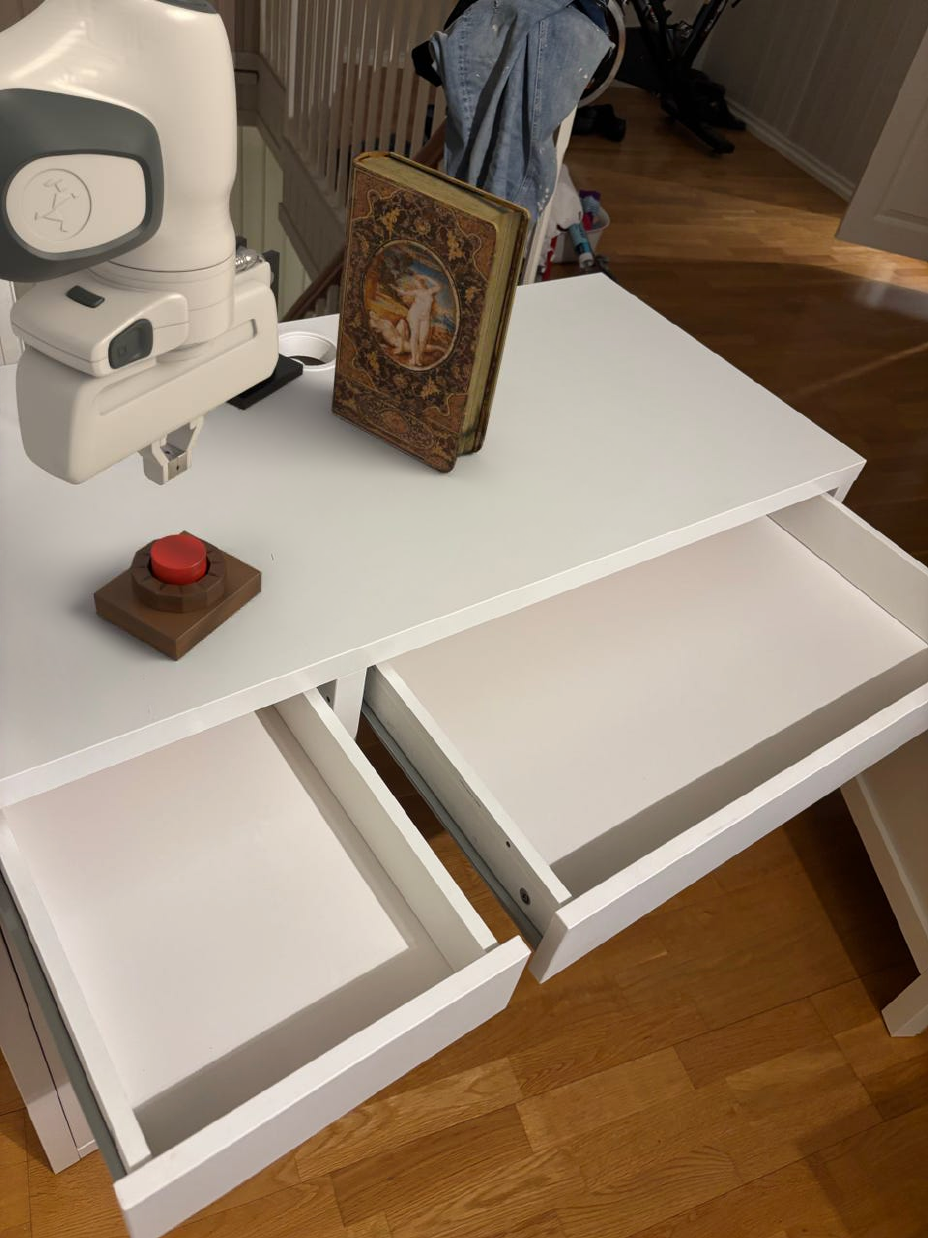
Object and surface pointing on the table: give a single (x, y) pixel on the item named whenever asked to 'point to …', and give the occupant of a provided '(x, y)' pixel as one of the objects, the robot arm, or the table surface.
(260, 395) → the bracket
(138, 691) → the table surface
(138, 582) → the button block
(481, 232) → the book
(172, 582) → the button
